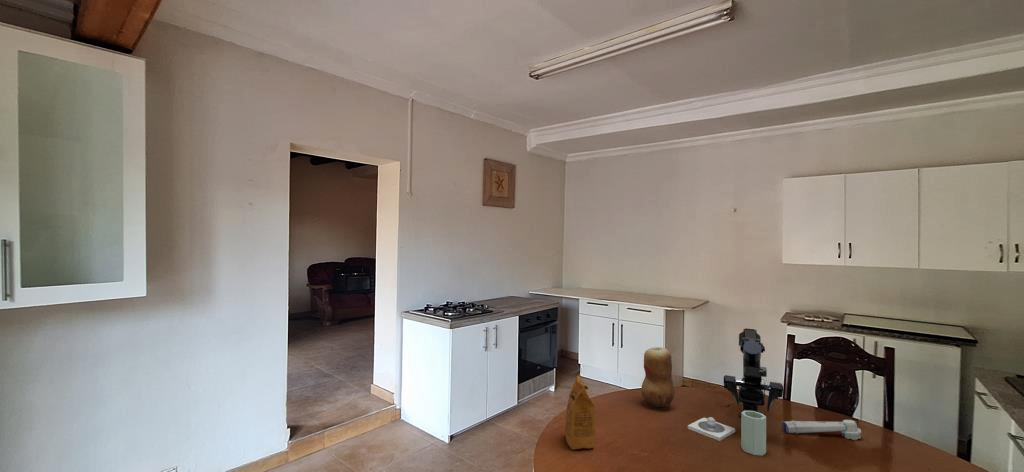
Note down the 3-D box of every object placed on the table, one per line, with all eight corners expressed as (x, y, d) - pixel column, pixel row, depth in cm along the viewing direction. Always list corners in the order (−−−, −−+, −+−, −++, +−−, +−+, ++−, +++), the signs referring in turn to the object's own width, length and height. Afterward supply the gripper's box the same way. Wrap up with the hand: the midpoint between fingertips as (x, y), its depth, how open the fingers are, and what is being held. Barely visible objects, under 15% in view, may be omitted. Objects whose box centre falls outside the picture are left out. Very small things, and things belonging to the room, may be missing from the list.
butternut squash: (635, 401, 182) (636, 344, 182) (662, 398, 185) (662, 343, 186) (653, 414, 169) (654, 353, 169) (682, 411, 172) (682, 351, 172)
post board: (703, 420, 163) (703, 408, 163) (735, 431, 154) (735, 418, 154) (687, 428, 156) (687, 415, 156) (719, 441, 146) (719, 427, 146)
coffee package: (590, 434, 150) (591, 374, 151) (597, 451, 138) (598, 386, 138) (563, 433, 150) (564, 373, 151) (567, 451, 138) (568, 385, 138)
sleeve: (747, 443, 145) (747, 409, 145) (768, 451, 140) (768, 415, 140) (738, 449, 141) (738, 413, 141) (760, 457, 135) (760, 420, 136)
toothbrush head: (780, 418, 157) (853, 415, 153) (782, 436, 157) (856, 433, 152) (786, 424, 152) (862, 421, 147) (789, 443, 151) (865, 440, 147)
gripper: (723, 353, 155) (723, 392, 145) (782, 360, 146) (786, 402, 136) (724, 369, 162) (723, 406, 152) (780, 376, 153) (783, 417, 143)
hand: (752, 408), depth 146 cm, fingers open, 9 cm apart
